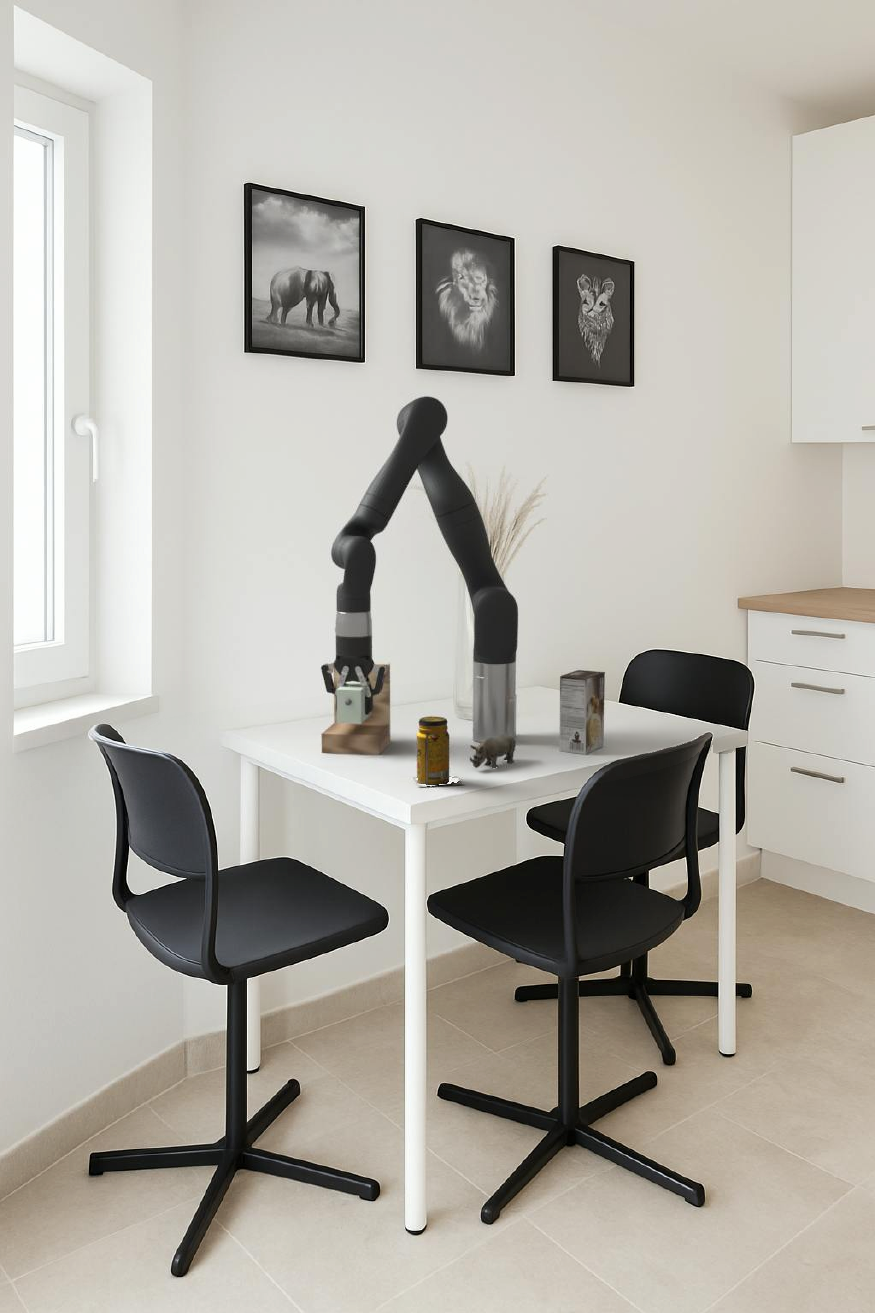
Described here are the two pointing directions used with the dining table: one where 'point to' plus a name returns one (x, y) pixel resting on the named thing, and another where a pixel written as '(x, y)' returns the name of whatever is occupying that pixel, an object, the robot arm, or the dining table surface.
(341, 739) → the ledge
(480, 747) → the rhino figurine
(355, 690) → the mint green tall box
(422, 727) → the condiment
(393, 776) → the dining table surface
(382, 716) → the wall board
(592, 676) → the coffee box
